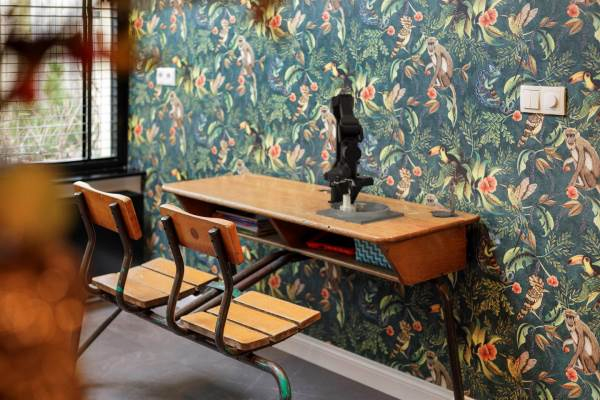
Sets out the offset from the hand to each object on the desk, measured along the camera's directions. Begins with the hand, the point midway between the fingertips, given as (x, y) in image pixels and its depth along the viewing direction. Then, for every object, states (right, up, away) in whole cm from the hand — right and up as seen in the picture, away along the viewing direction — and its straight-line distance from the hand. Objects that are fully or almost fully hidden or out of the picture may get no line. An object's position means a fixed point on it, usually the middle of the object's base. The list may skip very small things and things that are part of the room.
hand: (348, 203), depth 273 cm
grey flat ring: (+4, -4, +5) cm, 8 cm away
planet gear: (0, -2, +1) cm, 2 cm away
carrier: (+4, -4, +5) cm, 8 cm away
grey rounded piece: (+34, -5, +5) cm, 35 cm away
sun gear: (+4, -4, +5) cm, 8 cm away
